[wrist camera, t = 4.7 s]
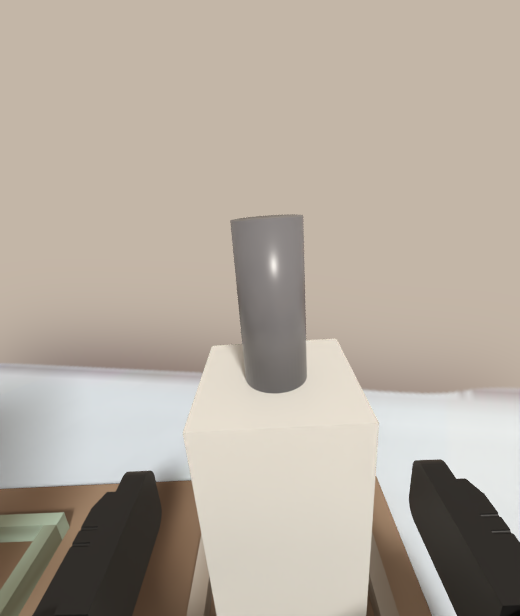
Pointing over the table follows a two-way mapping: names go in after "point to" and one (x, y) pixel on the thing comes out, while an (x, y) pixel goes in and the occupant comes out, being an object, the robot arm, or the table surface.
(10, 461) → the table surface
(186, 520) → the walnut port board
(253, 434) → the cream block with handle
